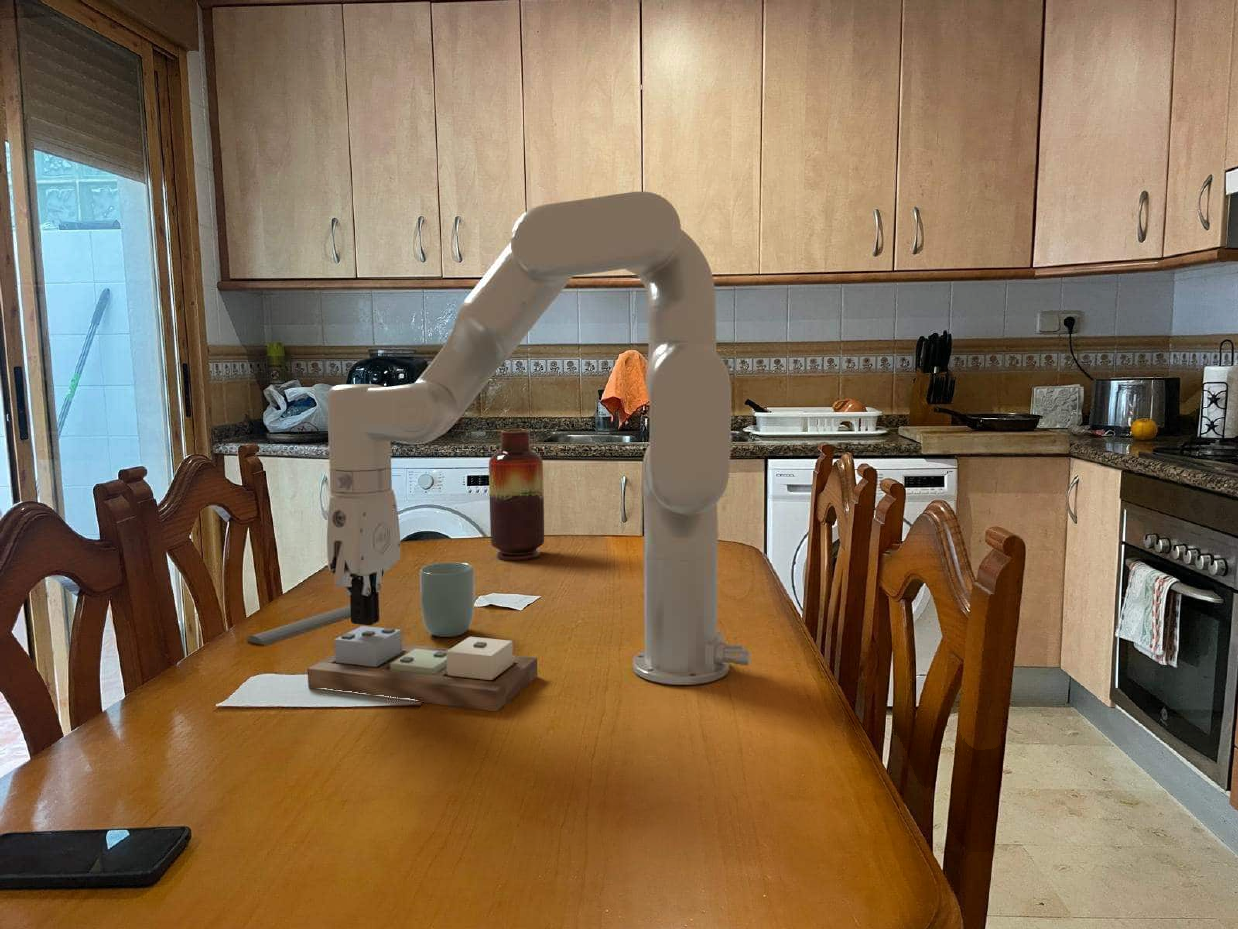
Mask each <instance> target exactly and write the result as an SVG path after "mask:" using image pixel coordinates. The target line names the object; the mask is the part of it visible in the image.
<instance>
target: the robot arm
mask: <svg viewBox="0 0 1238 929" xmlns="http://www.w3.org/2000/svg"><path fill="white" fill-rule="evenodd" d="M680 220H681V219H680V216H679V214H678V212H677V210H676V208H675V207H674V206H673V204H672V203H671V202H670V201H668V199H666V198H665V197H663V196H662V195H659V194H657V193H654V192H650V191H642V190H641V191H629V192H623V193H616V194H610V195H603V196H598V197H597V196H596V197H589V198H583V199H575V200H567V201H561V202H553V203H546V204H542V205H537V206H535V207H532V208H529V210H527V211H526V212H524V213H522V214H521V216H520V217H519V218H518V219H517V221H516V222H515V223H514V226H513V228H512V230H511V235H510V236H511V237H510V243H509V244H508V246H506V248H505V249H504V250H503V252H502V253H501V254H500V255H499V257H498V258H497V259H496V260H495V262H494V264H492V266H491V267H490V268H489V269H488V271H487V272H486V273H485V275H483V278H481V280H480V281H479V282H478V283H477V284H476V286H475V287H474V288H473V289H472V291H471V292H470V293H469V295H467V297H466V298H465V299H464V301H463V303H462V304H461V306H460V307H459V309H458V312H457V315H456V317H455V322H454V326H453V328H452V330H451V333H450V334H449V336H448V338H447V339H446V341H445V343H444V344H443V345H442V348H441V349H440V351H439V352H438V353H437V354H436V356H435V357H434V359H433V360H432V361H430V364H429V365H428V366H427V367H426V369H425V370H423V372H422V373H421V374H420V376H419V377H418V378H417V380H416V381H415V382H413V383H407V384H401V385H394V386H382V385H380V384H374V383H373V384H370V383H354V384H353V383H351V384H350V383H349V384H347V383H346V384H337V385H335V386H332V387H331V388H330V389H329V391H328V393H327V395H326V396H327V399H326V400H327V403H326V405H327V434H328V435H327V436H328V437H327V438H328V457H329V460H328V462H329V463H328V464H329V488H330V489H329V492H330V498H329V503H328V504H329V505H328V513H327V526H326V528H327V531H326V555H327V556H326V557H327V566H328V570H329V571H330V573H331V574H333V575H335V576H334V586H335V587H341V588H342V587H343V588H346V593H347V594H348V595H349V596H350V597H349V598H350V599H349V602H350V604H349V605H350V607H351V618H350V622H351V623H352V624H353V625H361V626H368V627H372V626H373V625H375V624H377V623H378V622H379V621H380V600H379V598H380V597H379V595H380V594H379V593H380V590H381V589H382V588H381V587H382V578H383V576H384V574H386V572H387V571H389V570H390V569H391V567H392V566H394V565H395V564H397V563H398V562H399V561H400V559H401V554H402V551H401V550H402V548H401V531H400V521H399V512H398V505H397V501H396V496H395V492H394V489H393V486H392V485H393V484H392V483H393V482H392V481H393V480H392V478H393V477H392V448H391V447H392V446H391V444H392V443H391V442H393V443H399V444H407V445H423V444H427V443H430V442H432V441H434V440H436V439H437V438H438V437H441V436H442V435H444V434H446V433H447V432H449V430H450V429H451V428H452V427H453V426H454V425H455V424H456V422H458V420H459V419H460V418H461V416H462V415H463V414H464V413H465V412H466V410H467V409H468V408H469V407H470V406H471V404H472V403H473V401H474V400H475V399H476V397H478V395H479V393H480V392H481V391H482V390H483V389H484V387H485V386H486V385H487V384H488V382H489V381H490V380H491V378H492V377H493V376H494V374H495V373H496V372H497V370H498V369H499V368H500V367H501V366H502V365H503V364H504V363H506V361H508V359H509V358H510V357H511V355H512V354H513V352H514V351H515V350H516V348H518V346H519V345H520V343H521V342H522V341H523V340H524V338H526V336H527V334H528V333H529V332H530V331H531V330H532V329H533V327H534V326H535V324H536V323H537V321H539V319H540V318H541V316H543V314H544V313H545V312H546V310H548V308H549V307H550V305H551V304H552V303H553V301H555V300H556V298H557V297H558V296H560V293H562V291H563V290H564V288H565V287H566V286H567V285H568V284H569V282H570V281H571V280H572V278H573V277H575V276H583V275H592V274H600V273H607V272H612V271H620V270H626V271H627V272H630V273H631V274H634V275H636V276H637V277H638V279H640V281H641V282H642V284H643V287H644V289H645V293H646V295H647V314H648V315H647V318H648V354H647V356H648V358H647V371H646V374H645V388H646V392H647V395H648V397H649V445H648V447H647V448H646V450H645V453H644V454H643V455H644V456H643V460H642V467H641V477H642V479H641V482H642V499H643V500H642V502H643V503H642V505H643V532H644V533H643V539H644V540H643V542H644V543H643V544H644V545H643V546H644V550H643V579H644V583H643V584H644V585H643V592H644V593H643V594H644V595H643V598H644V604H643V605H644V606H643V609H644V614H643V615H644V618H643V619H644V622H643V623H644V625H643V626H644V650H642V651H640V652H639V653H637V654H636V655H635V656H634V657H633V659H632V669H633V671H634V673H635V674H637V675H638V676H639V677H641V678H643V679H644V680H648V681H650V682H654V683H659V684H664V685H675V686H690V685H701V684H707V683H711V682H714V681H717V680H719V679H722V678H723V677H725V676H726V675H727V674H728V673H729V671H730V664H731V663H732V664H735V665H739V666H740V665H742V666H749V665H750V662H751V649H745V645H743V644H742V645H741V644H727V642H726V641H724V633H723V632H721V631H720V632H719V631H718V584H719V583H718V581H719V580H718V573H719V572H718V568H719V566H718V560H719V559H718V556H719V554H718V553H719V522H718V521H719V520H718V519H719V518H718V502H719V501H720V500H721V498H722V497H723V496H724V494H725V491H726V490H727V486H728V483H729V478H730V465H731V442H732V441H731V437H732V436H731V433H732V432H731V431H732V430H731V428H732V385H731V378H730V374H729V370H728V368H727V365H726V363H725V362H724V360H723V358H722V357H721V356H720V354H718V352H717V307H716V306H717V302H716V288H715V282H714V277H713V272H712V269H711V267H710V263H709V262H708V260H707V258H706V256H705V255H704V253H703V251H702V250H701V248H700V247H699V246H698V244H697V243H696V241H695V240H694V239H693V238H692V237H691V236H690V235H689V234H687V232H686V231H684V230H683V229H682V228H681V227H682V226H681V221H680Z"/></svg>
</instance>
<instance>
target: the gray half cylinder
mask: <svg viewBox="0 0 1238 929" xmlns="http://www.w3.org/2000/svg"><path fill="white" fill-rule="evenodd" d="M343 619H345V620H348V619H351V607H350V604H349V605H346V606H343V607H339V608H337V609H333V610H329V611H327V612H323V613H320V614H317V615H313V616H310V617H308V618H303V619H301V620H298V621H294V622H291V623H288V624H285V625H281V626H279V627H274V628H272V629H269V630H265V631H262V632H260V633H256V634H253V635H250V636H248V637H247V640H246V641H247V642H248V643H253V644H256V645H261V646H268V645H271V644H275V643H278V642H280V641H283V640H287V639H290V638H293V637H296V636H299V635H301V634H304V633H308V632H311V631H314V630H317V629H320V628H322V627H321V626H323V627H326V626H329V625H332V624H331V623H333V624H335V623H338V621H339V622H342V621H344V620H343ZM341 620H342V621H341ZM319 627H320V628H319ZM316 628H317V629H316ZM310 630H311V631H310Z"/></svg>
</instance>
